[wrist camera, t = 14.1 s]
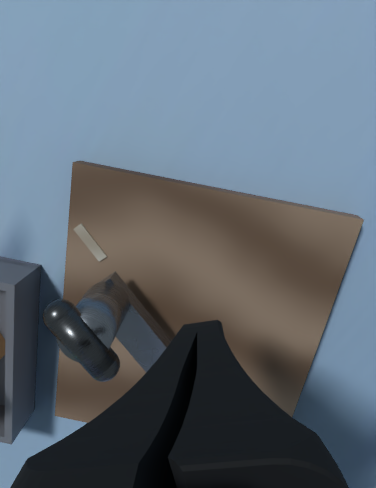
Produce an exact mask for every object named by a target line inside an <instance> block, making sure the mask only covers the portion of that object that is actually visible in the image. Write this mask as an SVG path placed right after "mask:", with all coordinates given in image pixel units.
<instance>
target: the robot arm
mask: <svg viewBox="0 0 376 488" xmlns="http://www.w3.org/2000/svg"><path fill="white" fill-rule="evenodd" d="M11 488H349V487H348V485H347V483H346V481H345V479H344V477H343V475H342V473H341V471H340V469H339V468H338V466H337V464H336V462H335V461H334V459H333V458H332V456H331V454H330V453H329V451H328V450H327V448H326V447H325V445H324V444H323V442H322V441H321V439H320V438H319V436H318V435H317V434H316V433H315V432H313V431H312V430H310V429H309V428H307V427H306V426H304V425H302V424H301V423H299V422H298V421H296V420H295V419H294V418H292V417H291V416H290V415H289V414H287V413H286V412H285V411H283V410H282V409H281V408H280V407H279V406H278V405H277V404H275V403H274V402H273V401H272V400H271V399H270V398H269V397H268V396H267V395H266V394H265V393H263V392H262V390H261V389H260V388H259V387H258V386H257V385H256V384H255V383H254V382H253V381H252V379H251V378H250V377H249V376H248V375H247V373H246V372H245V371H244V369H243V368H242V367H241V365H240V364H239V362H238V361H237V359H236V358H235V356H234V354H233V353H232V351H231V349H230V347H229V345H228V343H227V341H226V339H225V337H224V332H223V327H222V322H220V321H219V320H212V321H205V322H198V323H191V324H184V325H183V326H182V327H181V329H180V330H179V331H178V333H177V334H176V336H175V337H174V338H173V340H172V341H171V342H170V344H169V345H168V347H167V348H166V349H165V350H164V352H163V353H162V354H161V356H160V357H159V358H158V360H157V361H156V362H155V363H154V364H153V365H152V366H151V368H150V369H149V370H148V371H147V372H146V373H145V375H144V376H143V377H142V378H141V379H140V380H139V381H138V382H137V383H136V384H135V385H134V386H133V387H132V388H131V389H130V390H128V391H127V392H126V393H125V394H124V395H123V396H122V397H121V398H120V399H118V400H117V401H116V402H115V403H113V404H112V405H111V406H110V407H108V408H107V409H106V410H105V411H103V412H102V413H101V414H100V415H98V416H97V417H96V418H94V419H93V420H91V421H90V422H88V423H87V424H86V425H84V426H83V427H81V428H80V429H78V430H76V431H75V432H73V433H72V434H70V435H69V436H67V437H65V438H64V439H62V440H60V441H59V442H57V443H55V444H53V445H51V446H50V447H48V448H46V449H44V450H43V451H41V452H39V453H37V454H35V455H33V456H31V457H30V458H28V459H27V460H26V462H25V464H24V465H23V467H22V469H21V470H20V472H19V474H18V475H17V477H16V479H15V481H14V482H13V484H12V486H11Z"/></svg>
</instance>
